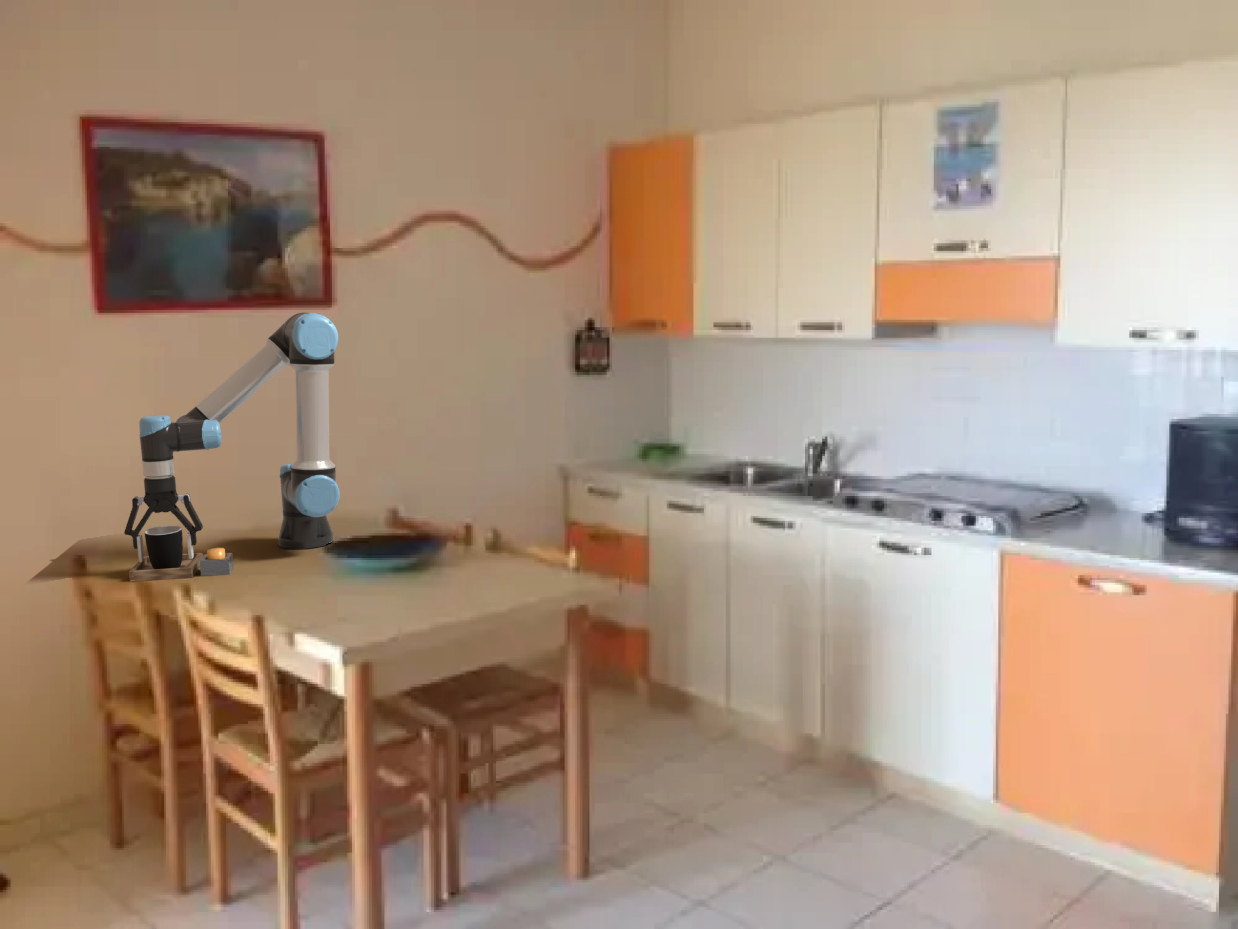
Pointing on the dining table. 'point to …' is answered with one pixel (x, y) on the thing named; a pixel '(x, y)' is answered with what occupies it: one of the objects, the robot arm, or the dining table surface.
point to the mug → (164, 546)
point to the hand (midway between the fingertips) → (166, 559)
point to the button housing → (216, 565)
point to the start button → (216, 553)
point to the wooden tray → (146, 571)
